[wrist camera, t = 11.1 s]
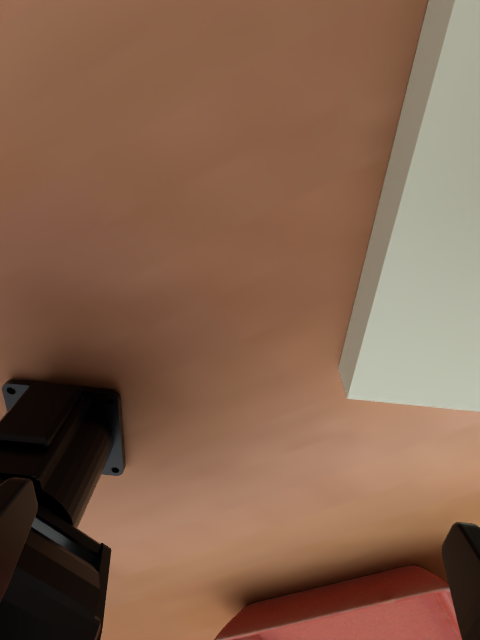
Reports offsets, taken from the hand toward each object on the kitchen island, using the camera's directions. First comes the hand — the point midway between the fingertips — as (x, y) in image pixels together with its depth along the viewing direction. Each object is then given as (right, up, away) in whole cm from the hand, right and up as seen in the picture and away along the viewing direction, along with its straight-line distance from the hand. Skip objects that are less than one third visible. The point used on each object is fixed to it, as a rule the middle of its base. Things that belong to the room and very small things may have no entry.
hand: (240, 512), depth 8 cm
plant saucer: (+10, -22, +25) cm, 35 cm away
